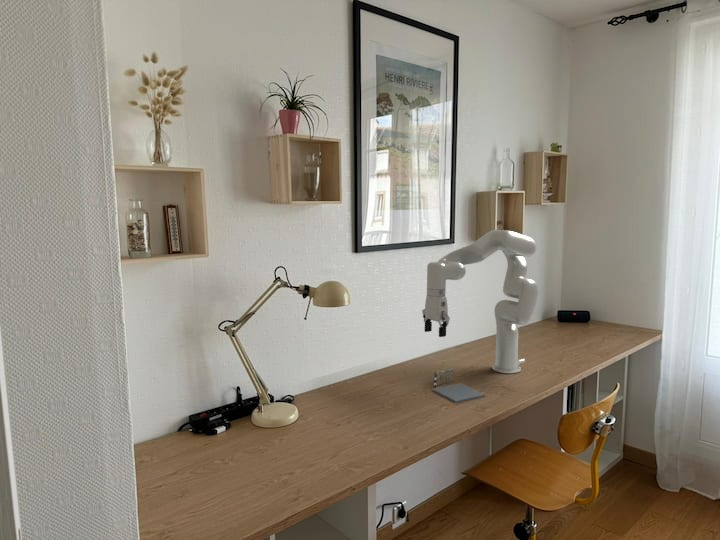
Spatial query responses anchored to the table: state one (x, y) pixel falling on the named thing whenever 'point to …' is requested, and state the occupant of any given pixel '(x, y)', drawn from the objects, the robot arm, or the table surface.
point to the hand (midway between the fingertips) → (435, 333)
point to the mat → (458, 392)
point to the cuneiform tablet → (443, 376)
